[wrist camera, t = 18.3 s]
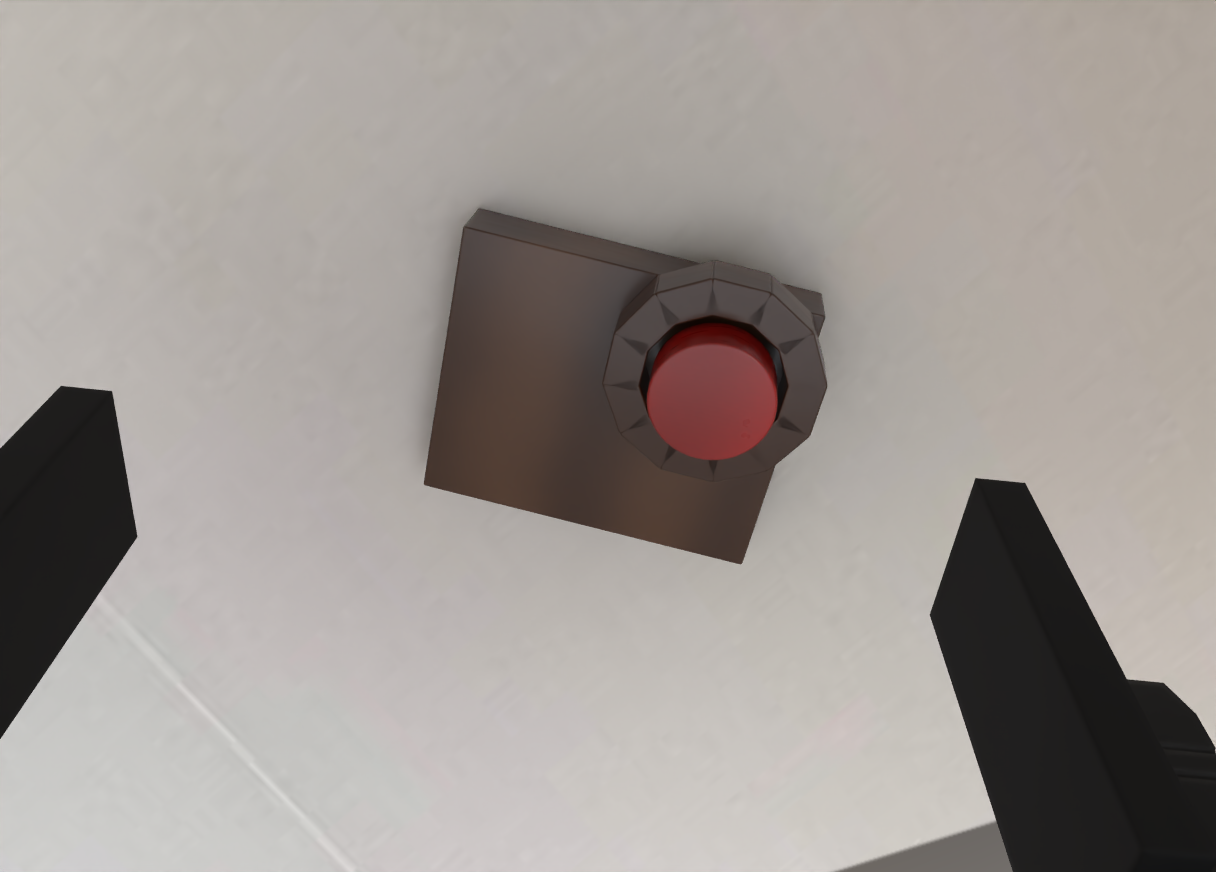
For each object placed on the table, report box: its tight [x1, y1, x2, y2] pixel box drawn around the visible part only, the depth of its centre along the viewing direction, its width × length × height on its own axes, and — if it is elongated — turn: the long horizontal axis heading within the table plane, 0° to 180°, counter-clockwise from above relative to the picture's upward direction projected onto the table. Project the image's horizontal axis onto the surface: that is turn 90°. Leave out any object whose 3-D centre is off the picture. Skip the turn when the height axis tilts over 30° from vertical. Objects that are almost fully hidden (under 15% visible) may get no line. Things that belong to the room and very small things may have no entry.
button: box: [647, 323, 778, 460], centre depth 34 cm, size 4×4×2 cm
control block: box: [424, 209, 827, 564], centre depth 37 cm, size 12×11×4 cm
